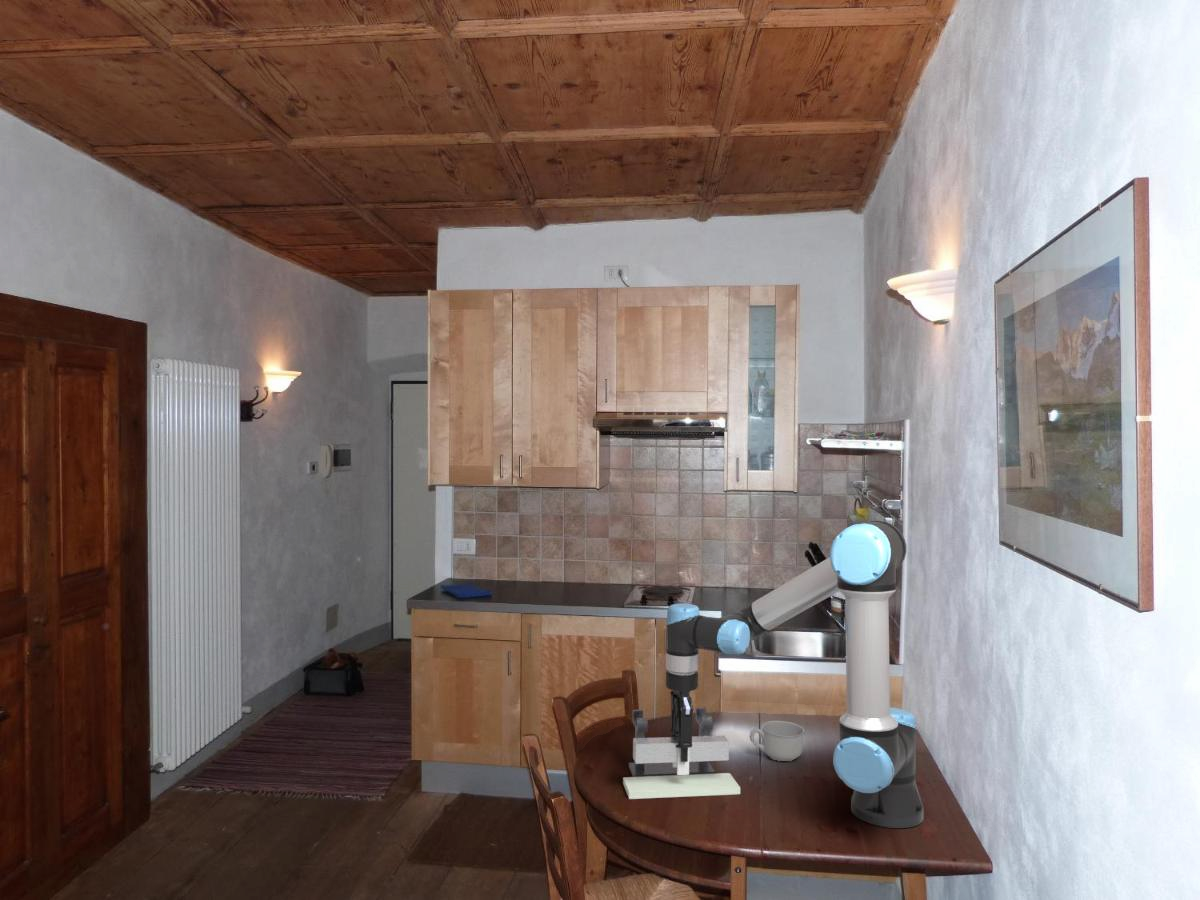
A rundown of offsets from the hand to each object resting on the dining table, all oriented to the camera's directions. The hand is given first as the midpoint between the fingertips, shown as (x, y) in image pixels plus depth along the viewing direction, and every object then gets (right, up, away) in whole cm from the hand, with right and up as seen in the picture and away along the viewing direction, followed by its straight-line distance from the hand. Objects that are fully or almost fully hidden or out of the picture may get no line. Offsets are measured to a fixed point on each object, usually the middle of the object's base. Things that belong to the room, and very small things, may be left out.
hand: (680, 770), depth 207 cm
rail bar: (0, +3, 0) cm, 3 cm away
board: (0, -4, 0) cm, 4 cm away
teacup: (+27, -5, +21) cm, 34 cm away
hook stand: (-1, -4, +10) cm, 11 cm away
